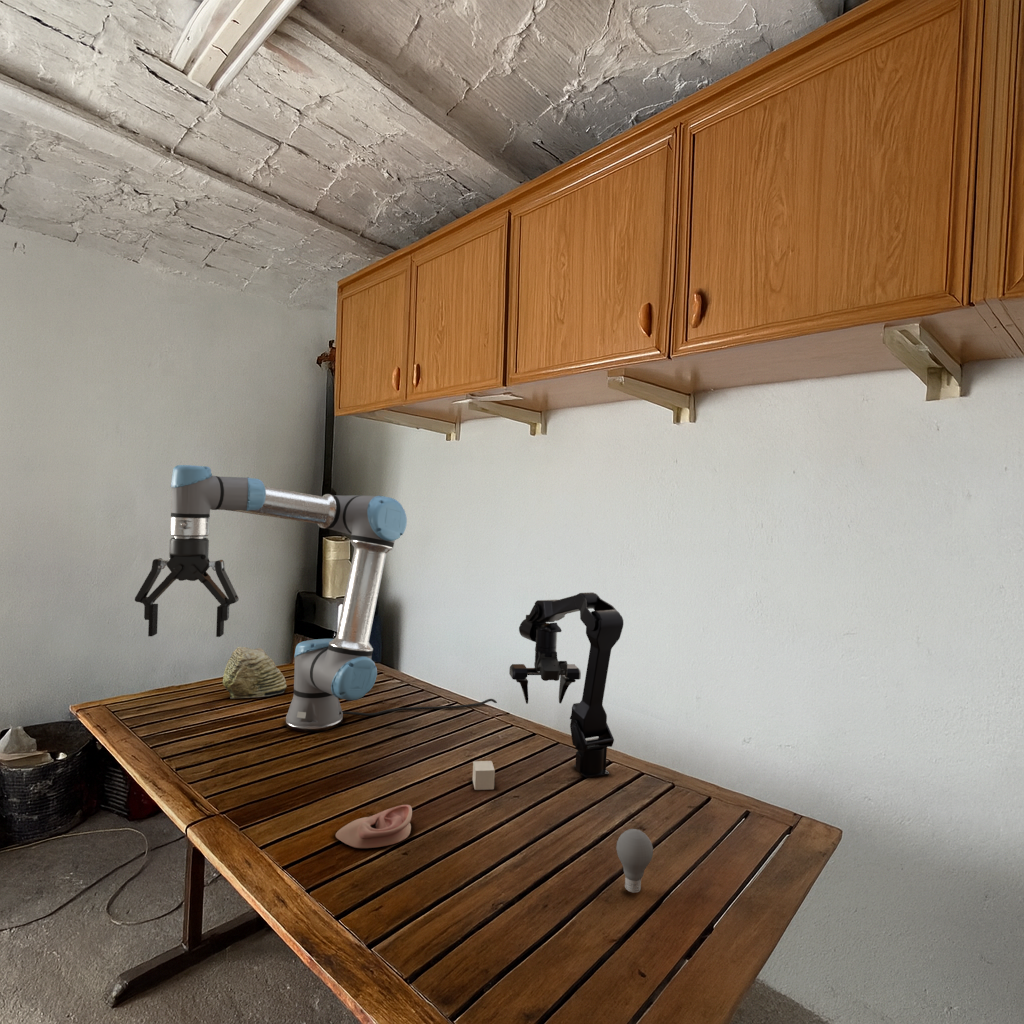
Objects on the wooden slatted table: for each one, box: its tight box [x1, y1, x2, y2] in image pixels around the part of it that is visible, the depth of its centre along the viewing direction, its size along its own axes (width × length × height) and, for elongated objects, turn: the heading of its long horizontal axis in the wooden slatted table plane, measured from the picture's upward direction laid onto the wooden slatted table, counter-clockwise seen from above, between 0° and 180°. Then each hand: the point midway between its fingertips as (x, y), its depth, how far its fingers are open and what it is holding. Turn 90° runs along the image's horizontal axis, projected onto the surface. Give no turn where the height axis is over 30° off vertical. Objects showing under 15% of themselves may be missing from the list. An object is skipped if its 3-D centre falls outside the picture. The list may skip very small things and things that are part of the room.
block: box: [471, 760, 496, 791], centre depth 143 cm, size 4×5×4 cm
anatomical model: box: [335, 804, 413, 849], centre depth 120 cm, size 13×4×12 cm
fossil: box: [222, 646, 288, 699], centre depth 198 cm, size 9×18×15 cm, turn 132°
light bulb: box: [615, 828, 654, 894], centre depth 106 cm, size 6×6×10 cm
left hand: (186, 635), depth 137 cm, fingers open, 13 cm apart
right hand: (543, 703), depth 172 cm, fingers open, 9 cm apart
